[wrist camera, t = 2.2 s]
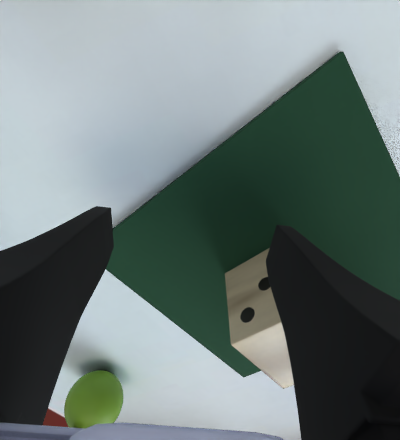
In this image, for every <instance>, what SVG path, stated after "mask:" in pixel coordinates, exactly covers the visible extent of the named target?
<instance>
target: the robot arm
mask: <svg viewBox="0 0 400 440" xmlns="http://www.w3.org/2000/svg"><path fill="white" fill-rule="evenodd" d="M113 248H114V241H113V229H112V216H111V208H107V207H97V206H96V207H94V208H92V209H90V210H88V211H86V212H84V213H82V214H80V215H78V216H77V217H75V218H73V219H71V220H69V221H67V222H65V223H64V224H62V225H60V226H58V227H56V228H54V229H52V230H50V231H47V232H45V233H43V234H41V235H39V236H37V237H35V238H33V239H30V240H28V241H26V242H23V243H21V244H18V245H15V246H13V247H10V248H8V249H5V250H2V251H0V440H283V439H282V438H280V437H276V436H271V435H266V434H262V433H257V432H245V431H231V430H217V429H203V428H189V427H175V426H162V425H148V424H134V423H108V424H95V425H93V426H90V427H88V428H86V429H85V428H70V427H56V426H42V425H43V421H44V418H45V415H46V412H47V409H48V406H49V403H50V399H51V396H52V393H53V390H54V388H55V385H56V382H57V379H58V376H59V373H60V370H61V367H62V364H63V362H64V359H65V356H66V354H67V351H68V348H69V346H70V343H71V340H72V338H73V335H74V333H75V330H76V328H77V325H78V323H79V320H80V318H81V316H82V313H83V311H84V309H85V307H86V305H87V303H88V302H89V300H90V298H91V296H92V294H93V292H94V290H95V288H96V286H97V284H98V283H99V281H100V279H101V277H102V275H103V273H104V271H105V269H106V267H107V265H108V262H109V259H110V257H111V254H112V251H113ZM266 267H267V274H268V280H269V284H270V287H271V290H272V294H273V297H274V300H275V303H276V307H277V310H278V313H279V316H280V319H281V323H282V326H283V330H284V334H285V338H286V343H287V348H288V353H289V358H290V364H291V369H292V375H293V381H294V387H295V394H296V401H297V408H298V415H299V423H300V431H301V440H400V301H399V300H398V299H396V298H394V297H392V296H390V295H388V294H386V293H384V292H383V291H381V290H379V289H377V288H375V287H374V286H372V285H370V284H369V283H367V282H365V281H364V280H362V279H361V278H359V277H357V276H356V275H354V274H353V273H351V272H350V271H348V270H347V269H345V268H344V267H343V266H341V265H340V264H338V263H337V262H336V261H334V260H333V259H332V258H330V257H329V256H328V255H326V254H325V253H324V252H323V251H321V250H320V249H319V248H318V247H316V246H315V245H314V244H313V243H311V242H310V241H309V240H308V239H307V238H305V237H304V236H303V235H302V234H300V233H299V232H298V231H297V230H295V229H294V228H292V227H291V226H284V225H276V229H275V232H274V235H273V238H272V242H271V245H270V248H269V252H268V255H267V258H266Z"/></svg>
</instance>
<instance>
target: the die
mask: <svg viewBox="0 0 400 440" xmlns="http://www.w3.org/2000/svg"><path fill="white" fill-rule="evenodd" d="M268 252H269V249H267V250H265V251H263V252H262V253H260V254H258V255H256V256H255V257H253V258H251V259H249V260H248V261H246V262H244V263H242V264H241V265H239V266H237V267H235V268H234V269H232V270H230V271H228V272H227V273H225V282H226V293H227V305H228V316H229V328H230V339H231V345H232V346H233V347H234V348H235V349H237V350H238V351H239V352H240V353H241V354H243V355H244V356H245V357H246V358H247V359H249V360H250V361H251V362H252V363H253V364H254V365H256V366H257V367H258V368H259V369H260V370H262V371H263V372H264V373H265V374H266V375H268V376H269V377H270V378H271V379H272V380H273V381H275V382H276V383H277V384H278V385H279V386H281V387H282V388H283V389H284V388H287V387H290V386H293V385H294V381H293V375H292V369H291V364H290V358H289V353H288V348H287V343H286V338H285V334H284V330H283V326H282V323H281V319H280V316H279V313H278V310H277V307H276V303H275V300H274V297H273V294H272V290H271V287H270V284H269V280H268V274H267V267H266V258H267V255H268Z"/></svg>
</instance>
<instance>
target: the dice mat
mask: <svg viewBox="0 0 400 440" xmlns="http://www.w3.org/2000/svg"><path fill="white" fill-rule="evenodd" d="M276 225H284V226H291V227H292V228H294V229H295V230H297V231H298V232H299V233H300V234H302V235H303V236H304V237H305V238H307V239H308V240H309V241H310V242H311V243H313V244H314V245H315V246H316V247H318V248H319V249H320V250H321V251H323V252H324V253H325V254H326V255H328V256H329V257H330V258H332V259H333V260H334V261H336V262H337V263H338V264H340V265H341V266H343V267H344V268H345V269H347V270H348V271H350V272H351V273H353V274H354V275H356V276H357V277H359V278H361V279H362V280H364V281H365V282H367V283H369V284H370V285H372V286H374V287H375V288H377V289H379V290H381V291H383V292H384V293H386V294H388V295H390V296H392V297H394V298H396V299H398V300H399V301H400V177H399V174H398V172H397V170H396V168H395V166H394V163H393V161H392V159H391V157H390V155H389V152H388V150H387V148H386V146H385V143H384V141H383V139H382V137H381V135H380V132H379V130H378V128H377V126H376V123H375V121H374V119H373V117H372V115H371V112H370V110H369V108H368V106H367V104H366V101H365V99H364V97H363V95H362V92H361V90H360V88H359V86H358V84H357V81H356V79H355V77H354V75H353V72H352V70H351V68H350V66H349V64H348V61H347V59H346V57H345V55H344V53H343V52H339V53H337V54H336V55H335V56H334V57H332V58H331V59H330V60H328V61H327V62H326V63H325V64H323V65H322V66H321V67H319V68H318V69H317V70H316V71H314V72H313V73H312V74H311V75H309V76H308V77H307V78H305V79H304V80H303V81H302V82H300V83H299V84H298V85H296V86H295V87H294V88H293V89H291V90H290V91H289V92H287V93H286V94H285V95H284V96H282V97H281V98H280V99H279V100H277V101H276V102H275V103H273V104H272V105H271V106H270V107H268V108H267V109H266V110H264V111H263V112H262V113H261V114H259V115H258V116H257V117H255V118H254V119H253V120H252V121H250V122H249V123H248V124H247V125H245V126H244V127H243V128H241V129H240V130H239V131H238V132H236V133H235V134H234V135H232V136H231V137H230V138H229V139H227V140H226V141H225V142H223V143H222V144H221V145H220V146H218V147H217V148H216V149H215V150H213V151H212V152H211V153H209V154H208V155H207V156H206V157H204V158H203V159H202V160H200V161H199V162H198V163H197V164H195V165H194V166H193V167H191V168H190V169H189V170H188V171H186V172H185V173H184V174H183V175H181V176H180V177H179V178H177V179H176V180H175V181H174V182H172V183H171V184H170V185H168V186H167V187H166V188H165V189H163V190H162V191H161V192H159V193H158V194H157V195H156V196H154V197H153V198H152V199H151V200H149V201H148V202H147V203H145V204H144V205H143V206H142V207H140V208H139V209H138V210H136V211H135V212H134V213H133V214H131V215H130V216H129V217H127V218H126V219H125V220H124V221H122V222H121V223H120V224H119V225H117V226H116V227H115V228H113V241H114V248H113V251H112V254H111V257H110V259H109V262H108V265H107V267H106V270H107V271H109V272H110V273H111V274H113V275H114V276H115V277H116V278H118V279H119V280H120V281H122V282H123V283H124V284H125V285H127V286H128V287H129V288H130V289H132V290H133V291H134V292H136V293H137V294H138V295H139V296H141V297H142V298H143V299H144V300H146V301H147V302H148V303H150V304H151V305H152V306H153V307H155V308H156V309H157V310H158V311H160V312H161V313H162V314H164V315H165V316H166V317H167V318H169V319H170V320H171V321H172V322H174V323H175V324H176V325H178V326H179V327H180V328H181V329H183V330H184V331H185V332H186V333H188V334H189V335H190V336H192V337H193V338H194V339H195V340H197V341H198V342H199V343H200V344H202V345H203V346H204V347H206V348H207V349H208V350H209V351H211V352H212V353H213V354H215V355H216V356H217V357H218V358H220V359H221V360H222V361H223V362H225V363H226V364H227V365H229V366H230V367H231V368H232V369H234V370H235V371H236V372H237V373H239V374H240V375H241V376H243V377H246V376H249V375H251V374H254V373H256V372H259V371H261V370H260V369H259V368H258V367H257V366H256V365H254V364H253V363H252V362H251V361H250V360H249V359H247V358H246V357H245V356H244V355H243V354H241V353H240V352H239V351H238V350H237V349H235V348H234V347H233V346H232V345H231V339H230V328H229V316H228V305H227V293H226V282H225V273H227V272H228V271H230V270H232V269H234V268H235V267H237V266H239V265H241V264H242V263H244V262H246V261H248V260H249V259H251V258H253V257H255V256H256V255H258V254H260V253H262V252H263V251H265V250H267V249H269V248H270V245H271V242H272V238H273V235H274V232H275V229H276Z"/></svg>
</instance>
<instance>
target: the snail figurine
mask: <svg viewBox="0 0 400 440" xmlns="http://www.w3.org/2000/svg"><path fill="white" fill-rule="evenodd" d="M122 404H123V389H122V386H121V383H120V381H119V380H118V379H117V377H116V376H115V375H113V374H112V373H110V372H107V371H103V370H97V371H92V372H89V373H87V374H85V375H84V376H82V377H81V378H80V379H79V380H78V381H77V382H76V383H75V384H74V385H73V386H72V388H71V389H70V391H69V393H68V395H67V398H66V402H65V408H64V414H65V419H66V422H67V425H68V426H69V427H70V428H85V429H86V428H88V427H90V426H93V425H95V424H108V423H114V422H115V420H116V419H117V417H118V415H119V413H120V411H121V408H122Z"/></svg>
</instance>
